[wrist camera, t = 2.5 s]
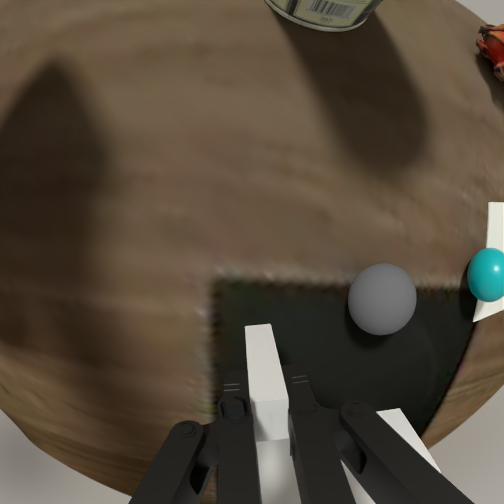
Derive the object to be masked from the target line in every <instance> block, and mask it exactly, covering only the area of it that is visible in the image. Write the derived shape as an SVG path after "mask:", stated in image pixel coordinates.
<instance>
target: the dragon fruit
mask: <svg viewBox="0 0 504 504" xmlns="http://www.w3.org/2000/svg"><path fill="white" fill-rule="evenodd" d="M486 26H487V27H484V26H481V29H479V32H478V33H482V36H483V40H484V42H482V41H481V40H479V39H477V41H476V43H477V44H478V45H479V46H478V47H480V50H481V53H482V54H483V55H484V56H485V57H486V58H489V59H490V60H491V61H492V62H493V63H494V65H493V66H494V67H493V68H494V73H493V74H494V75H495V76H496V77H497V78H498V79H499V80H500V81H503V82H504V24H501V25H500V26H494V25H486Z"/></svg>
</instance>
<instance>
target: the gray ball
mask: <svg viewBox="0 0 504 504" xmlns="http://www.w3.org/2000/svg"><path fill="white" fill-rule="evenodd" d="M415 306H416V290H415V286H414V284H413V281H412V280H411V278H410V277H409V275H408V274H407V273H406V272H405V271H404V270H402V269H401V268H399V267H397V266H395V265H392V264H387V263H380V264H374V265H372V266H369V267H367V268H366V269H364V270H363V271H361V272H360V273H359V274H358V275H357V276H356V278H355V279H354V281H353V282H352V284H351V287H350V290H349V294H348V307H349V311H350V314H351V317H352V319H353V320H354V322H355V323H356V324H357V325H358V326H359V327H360V328H361V329H363V330H364V331H366V332H368V333H371V334H374V335H387V334H391V333H394V332H396V331H398V330H399V329H401V328H402V327H403V326H405V325H406V323H407V322H408V321H409V320H410V318H411V317H412V315H413V312H414V309H415Z"/></svg>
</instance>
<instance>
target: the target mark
mask: <svg viewBox="0 0 504 504" xmlns="http://www.w3.org/2000/svg"><path fill="white" fill-rule="evenodd" d="M486 248H496V249H499V250H501V251H502V252H503V253H504V203H501V202H488V221H487V237H486ZM501 310H504V296H503V297H502V298H501V299H499V300H497V301H495V302H483V301H481V300H479V299H478V300H477V305H476V309H475V314H474V318H473V322H475V321H478V320H480V319H483V318H485V317H487V316H490V315H492V314H495V313H497V312H499V311H501Z"/></svg>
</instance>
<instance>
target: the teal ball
mask: <svg viewBox="0 0 504 504" xmlns="http://www.w3.org/2000/svg"><path fill="white" fill-rule="evenodd" d="M467 281H468V285H469V288H470V290H471V292H472V293H473V295H474V296H475V297H476V298H477V299H479V300H481V301H483V302H495V301H497V300H499V299H501V298H502V297H503V296H504V253H503V252H502V251H501V250H499V249H496V248H485V249H482V250H480V251H479V252H478V253H476V254H475V255H474V257H473V258H472V260H471V262H470V264H469V267H468V272H467Z"/></svg>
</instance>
